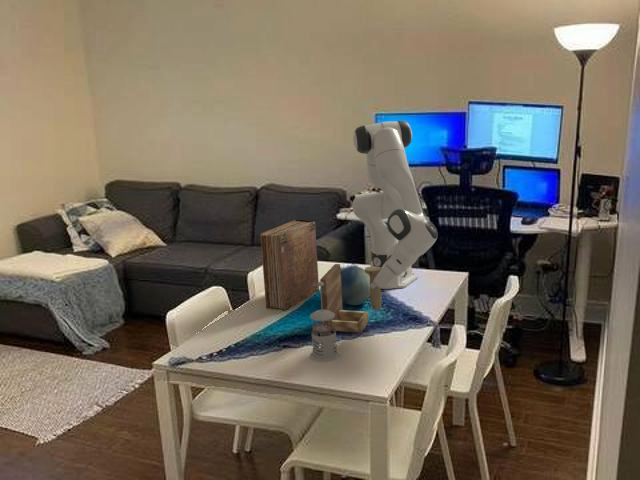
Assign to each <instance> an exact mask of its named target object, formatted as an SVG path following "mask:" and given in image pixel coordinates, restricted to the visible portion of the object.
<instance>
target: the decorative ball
mask: <svg viewBox="0 0 640 480" xmlns="http://www.w3.org/2000/svg"><path fill="white" fill-rule="evenodd" d="M341 289H342V303H344V304H347V305H349V306H357V305H358V306H359V305H361V304H363V303H366V301H368V300H369V298H370V277H369V275H368V274H367V273H365V268H363V267H359V266H356V265H355V266H353V265H352V266H347V267H345V268H343V269H342V270H341Z"/></svg>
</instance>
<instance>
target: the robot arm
mask: <svg viewBox="0 0 640 480" xmlns="http://www.w3.org/2000/svg"><path fill="white" fill-rule="evenodd" d="M412 139H413V131H412V128H411V125H410V124H409V123H408V122H407V121H406V120H397V121H393V120H392V121H381V122H378V123H376V122H375V123H372V124H367V125H360V126H358V127H356V129H355V130H354V133H353V138H352V141H353V145H354V147H355V150H356V151H357V152H358V153H360V154H363V155H364V154H366V165H367V167H366V168H367V179H368V182H370V184H371V185H372V186H374V187H376V188H378V189H380V190H381V191H382V192H365V193H364V192H363V193H361V194H357V195H356V196H355V197H354V199H353V201H352V204H351V205H352V207H351V208H352V211H353V214H354V216H355V217H356V218H358V219H359V220H360V221H362V222H363V223H364V225H365V226H366V228H367V229H368V231H369V234H370V235H369V236H370V241H371V252H370V260H371V262H370V266H369V267H372V266H376V267H382V269H381V271H380V272H379V273H378V274H377V276H376V277H375V279H374V280H373V282H372V283H371V284H370V287H371V288H372V289H374V288H375V287H376V286H378V287H379V288H381V289H383V290H384V289H385V290H387V289H388V290H389V289H404V288H407V287H408V286H409V285H410V284H412V283H413V282H415V281H416V280H417V279H419V275H418V274H416V273H413V269H412V266H413V264H415V263H416V261H417V260H418V258H419V257H421V256H422V255H424V254H425V253H427V251H428V250H429V249H430V248H431V247H432V246H434V244H435V243H436V241H437V239H438V236H439V232H438V229H437V227H436V226H435V224H433V222H431V220H430V219H429V218H428V216H427V215H426V213H425V210H424V208H423V204H422V200H421V197H420V194H419V190H418V187H417V185H416V182H415V179H414V176H413V174H412V172H411V169H410V166H409V163H408V160H407V154H406V150H405V148H408V147H409V146H410V145H411V143H412ZM384 220H386V221H387V222H386V223H385V221H384Z"/></svg>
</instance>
